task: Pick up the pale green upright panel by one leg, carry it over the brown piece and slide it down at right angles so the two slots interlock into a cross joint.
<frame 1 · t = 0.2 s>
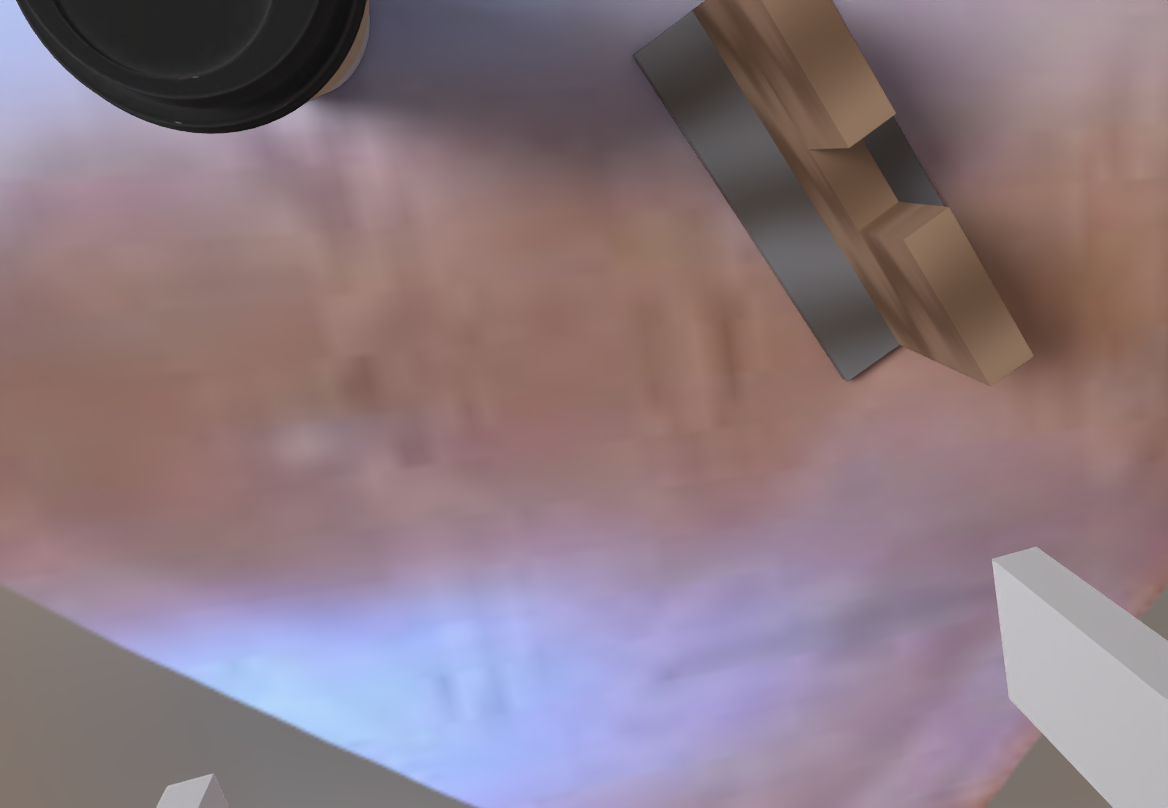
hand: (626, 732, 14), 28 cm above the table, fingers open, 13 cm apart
brown piece: (816, 174, 40), on the table
coffee cup: (298, 24, 36), on the table
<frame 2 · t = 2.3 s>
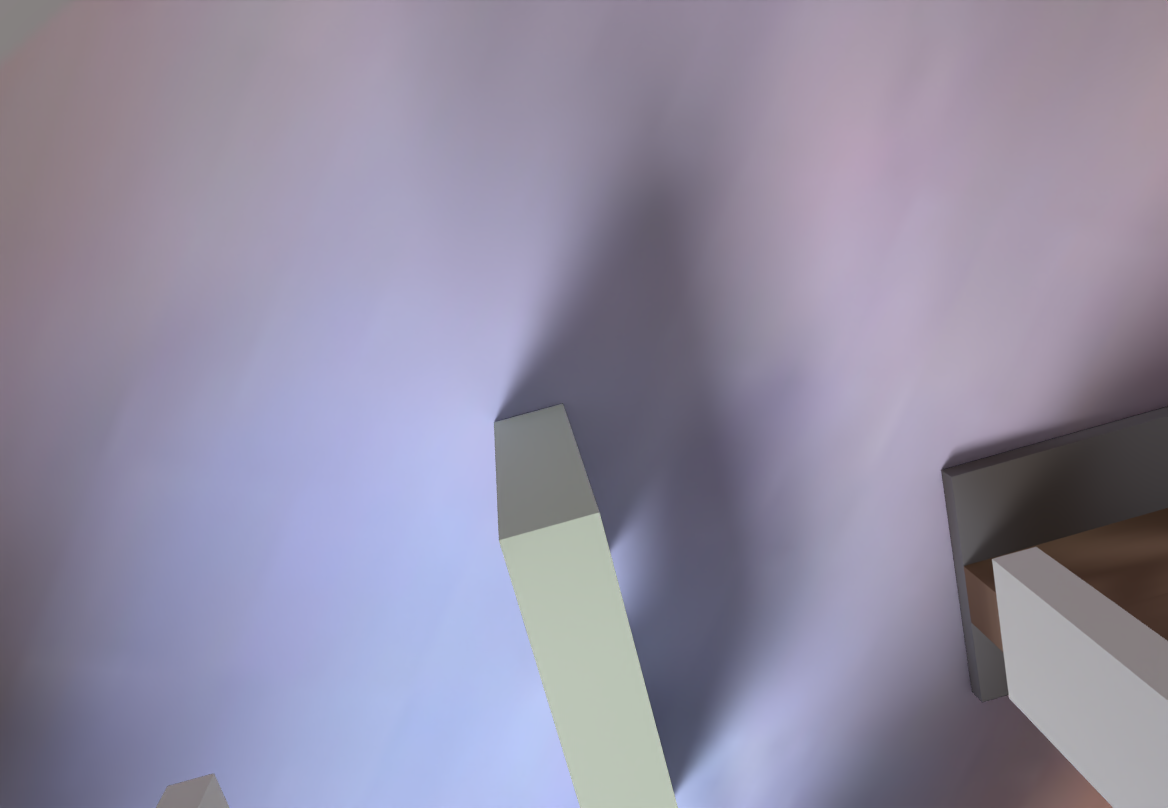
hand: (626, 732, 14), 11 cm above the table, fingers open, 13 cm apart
pale green upright panel: (588, 626, 26), on the table
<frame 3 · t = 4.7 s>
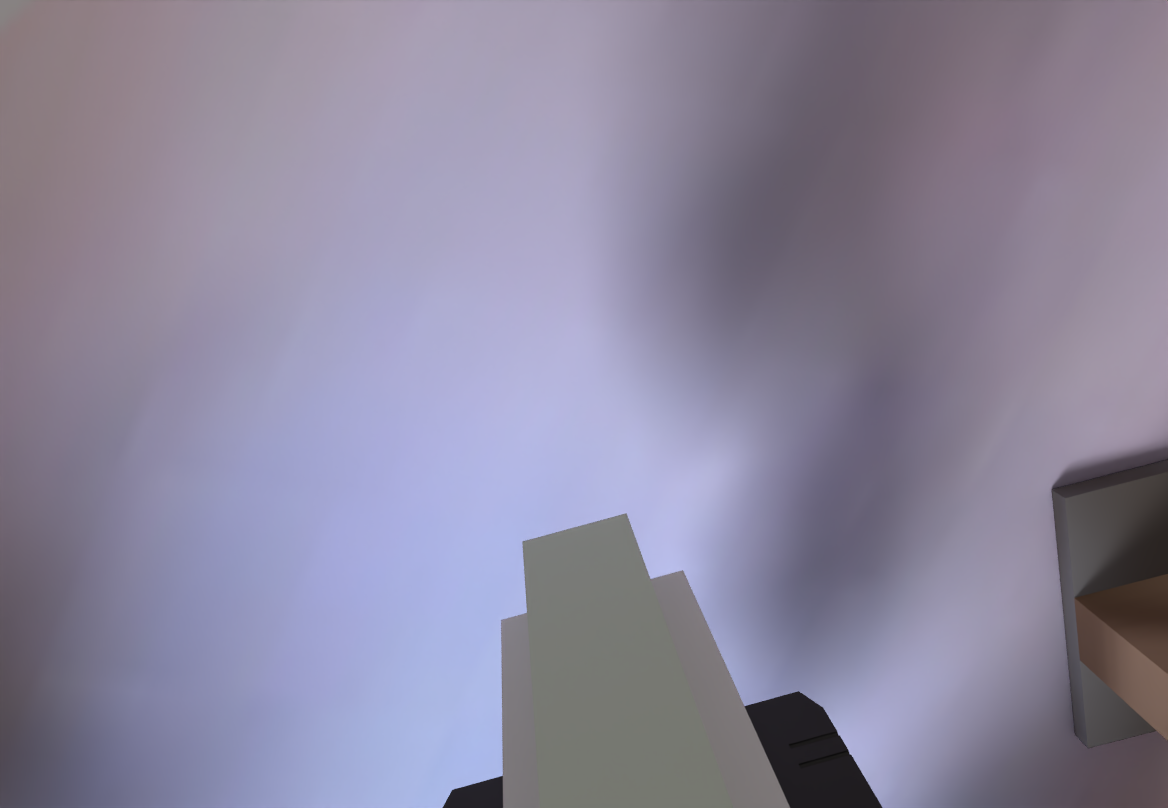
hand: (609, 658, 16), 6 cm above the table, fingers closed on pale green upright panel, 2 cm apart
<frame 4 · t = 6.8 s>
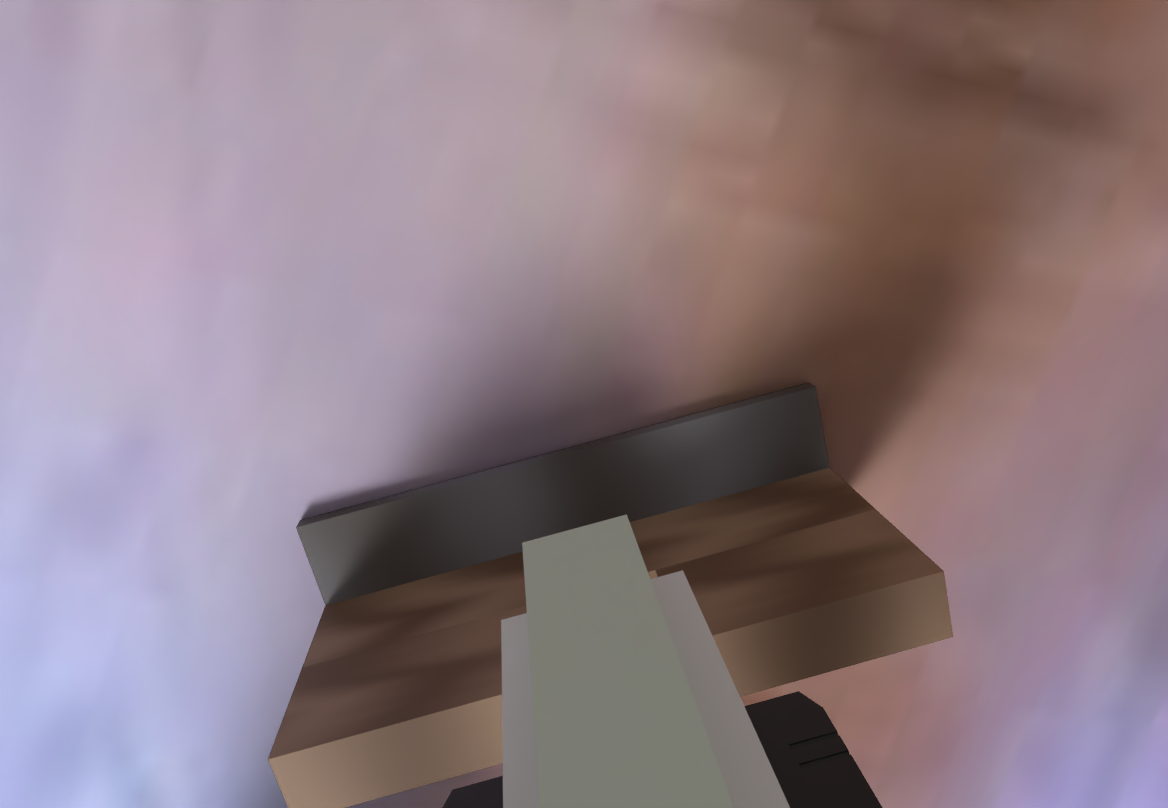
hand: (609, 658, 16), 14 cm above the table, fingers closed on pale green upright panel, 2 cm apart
brown piece: (585, 553, 31), on the table
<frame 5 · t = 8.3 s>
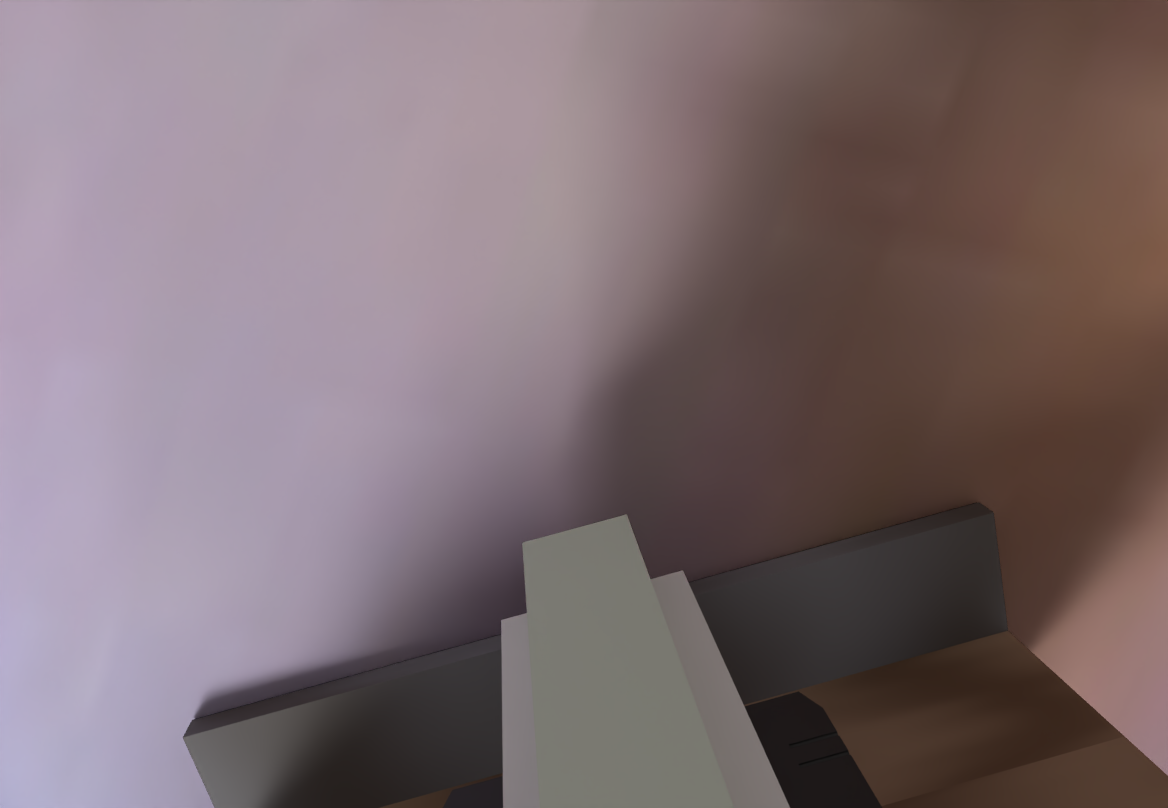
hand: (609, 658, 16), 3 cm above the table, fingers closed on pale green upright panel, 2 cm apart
brown piece: (631, 756, 20), on the table
when the fingers open (1 cm above the table, at t = 8.8 s): pale green upright panel stays where it is, resting on brown piece.
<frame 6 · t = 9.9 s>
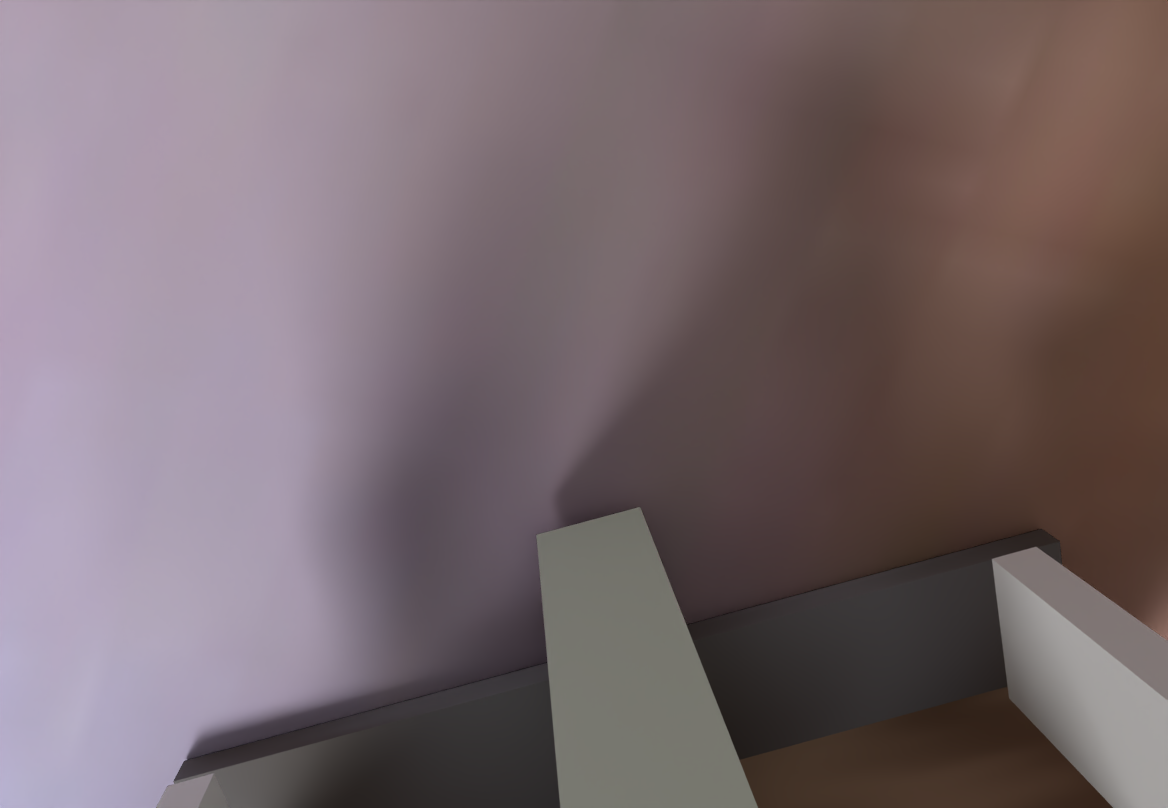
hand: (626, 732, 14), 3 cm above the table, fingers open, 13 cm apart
brown piece: (659, 801, 19), on the table
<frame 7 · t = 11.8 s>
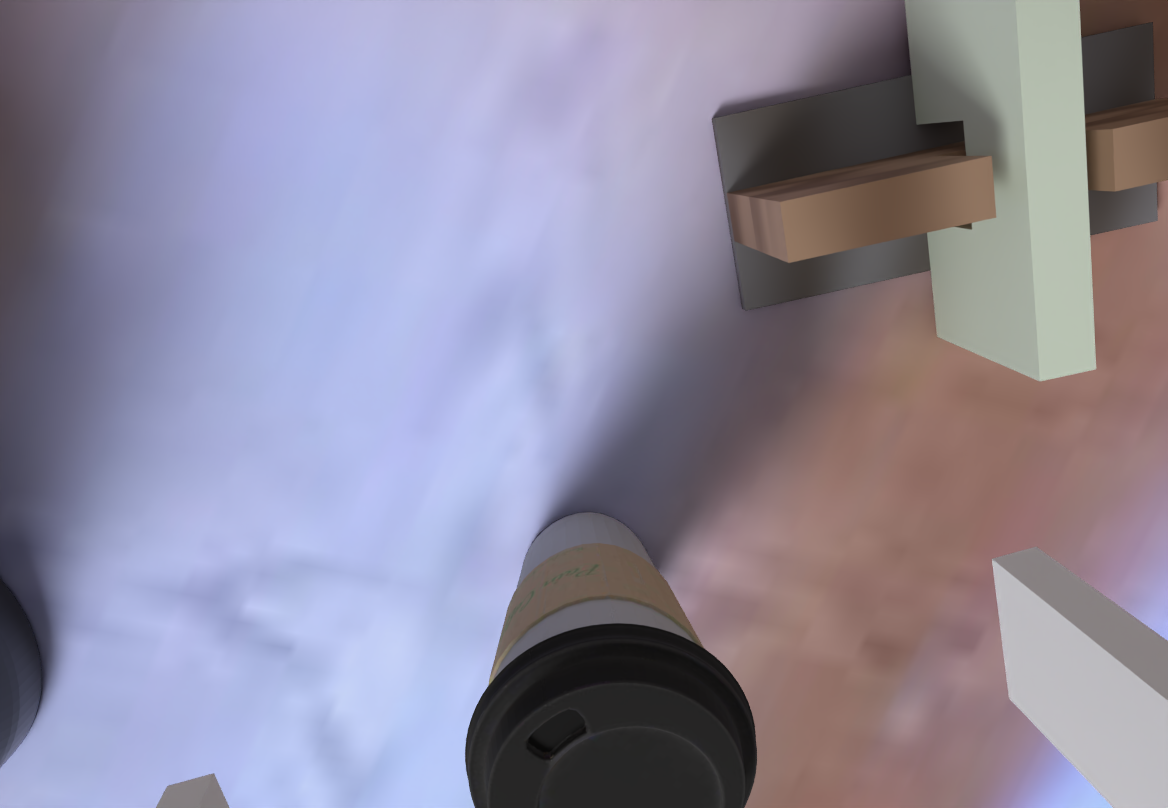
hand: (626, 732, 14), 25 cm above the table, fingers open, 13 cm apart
pale green upright panel: (944, 169, 36), point 1 cm above the table, touching brown piece
brown piece: (936, 170, 37), on the table
coffee cup: (587, 569, 41), on the table
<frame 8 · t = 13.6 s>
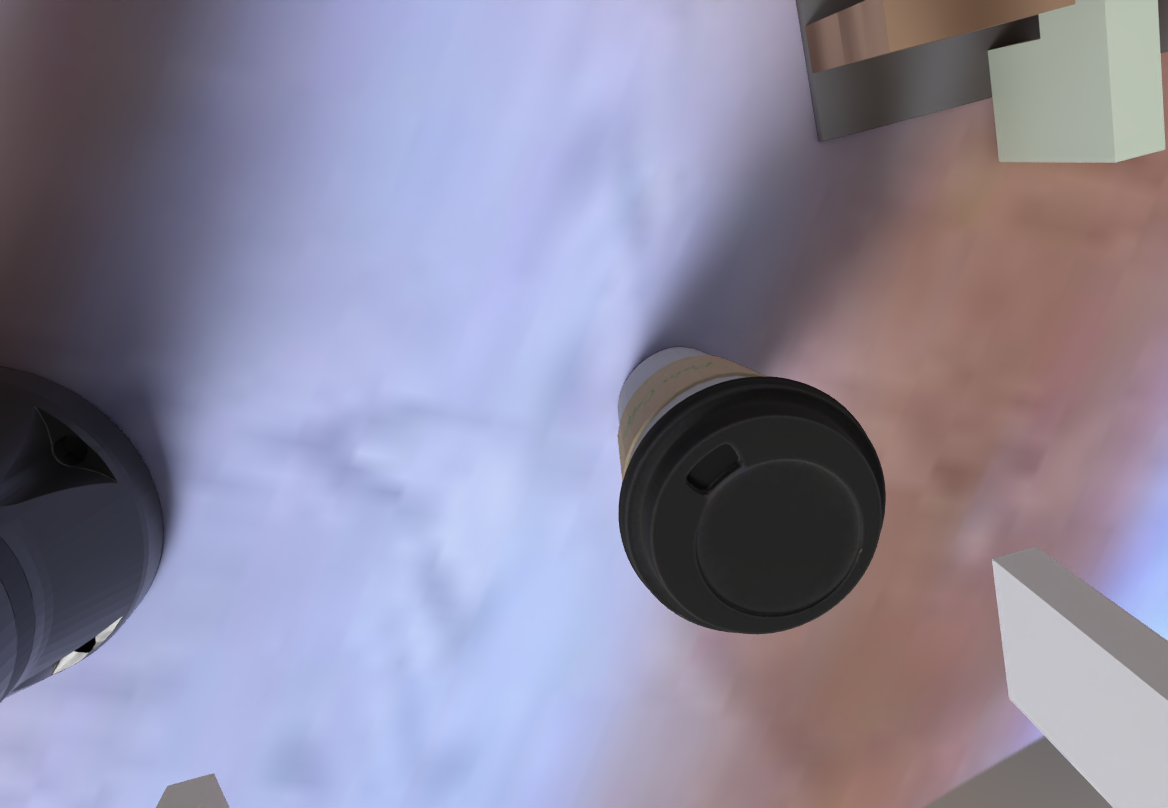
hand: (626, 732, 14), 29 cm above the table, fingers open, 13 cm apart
brown piece: (994, 2, 39), on the table
coffee cup: (677, 405, 43), on the table
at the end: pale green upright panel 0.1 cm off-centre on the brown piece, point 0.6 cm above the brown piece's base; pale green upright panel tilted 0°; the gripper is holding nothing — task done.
